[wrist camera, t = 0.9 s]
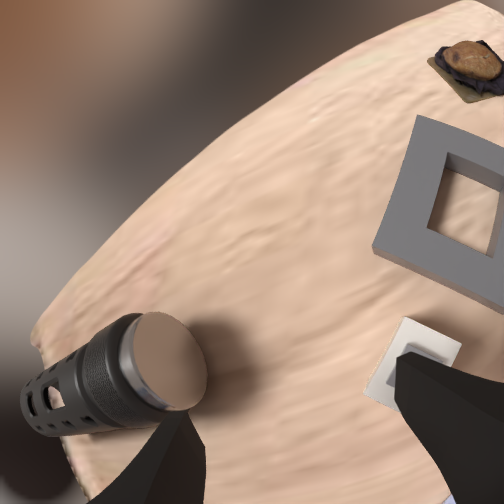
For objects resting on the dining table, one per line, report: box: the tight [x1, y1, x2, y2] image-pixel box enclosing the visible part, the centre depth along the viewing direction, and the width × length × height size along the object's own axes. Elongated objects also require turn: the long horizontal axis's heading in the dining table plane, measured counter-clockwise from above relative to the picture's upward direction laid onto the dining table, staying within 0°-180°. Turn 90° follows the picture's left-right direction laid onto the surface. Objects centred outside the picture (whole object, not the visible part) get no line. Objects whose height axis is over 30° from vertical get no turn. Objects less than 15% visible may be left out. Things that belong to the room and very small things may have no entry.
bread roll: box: [427, 40, 504, 103], centre depth 18 cm, size 11×8×4 cm
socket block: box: [372, 115, 504, 315], centre depth 17 cm, size 12×12×2 cm
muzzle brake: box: [20, 312, 208, 437], centre depth 25 cm, size 10×28×10 cm, turn 113°
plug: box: [363, 316, 462, 413], centre depth 15 cm, size 4×5×6 cm
